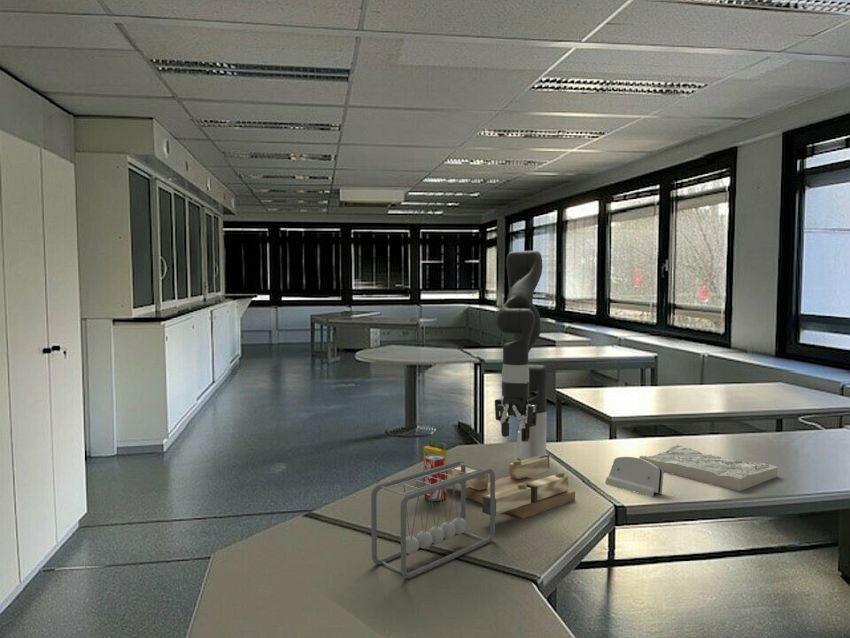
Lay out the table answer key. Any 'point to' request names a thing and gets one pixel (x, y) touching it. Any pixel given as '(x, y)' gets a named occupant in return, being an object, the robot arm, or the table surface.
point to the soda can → (435, 476)
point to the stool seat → (513, 489)
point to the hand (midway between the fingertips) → (515, 438)
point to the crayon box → (435, 449)
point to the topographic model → (712, 468)
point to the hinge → (636, 475)
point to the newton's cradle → (435, 533)
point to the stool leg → (548, 486)
